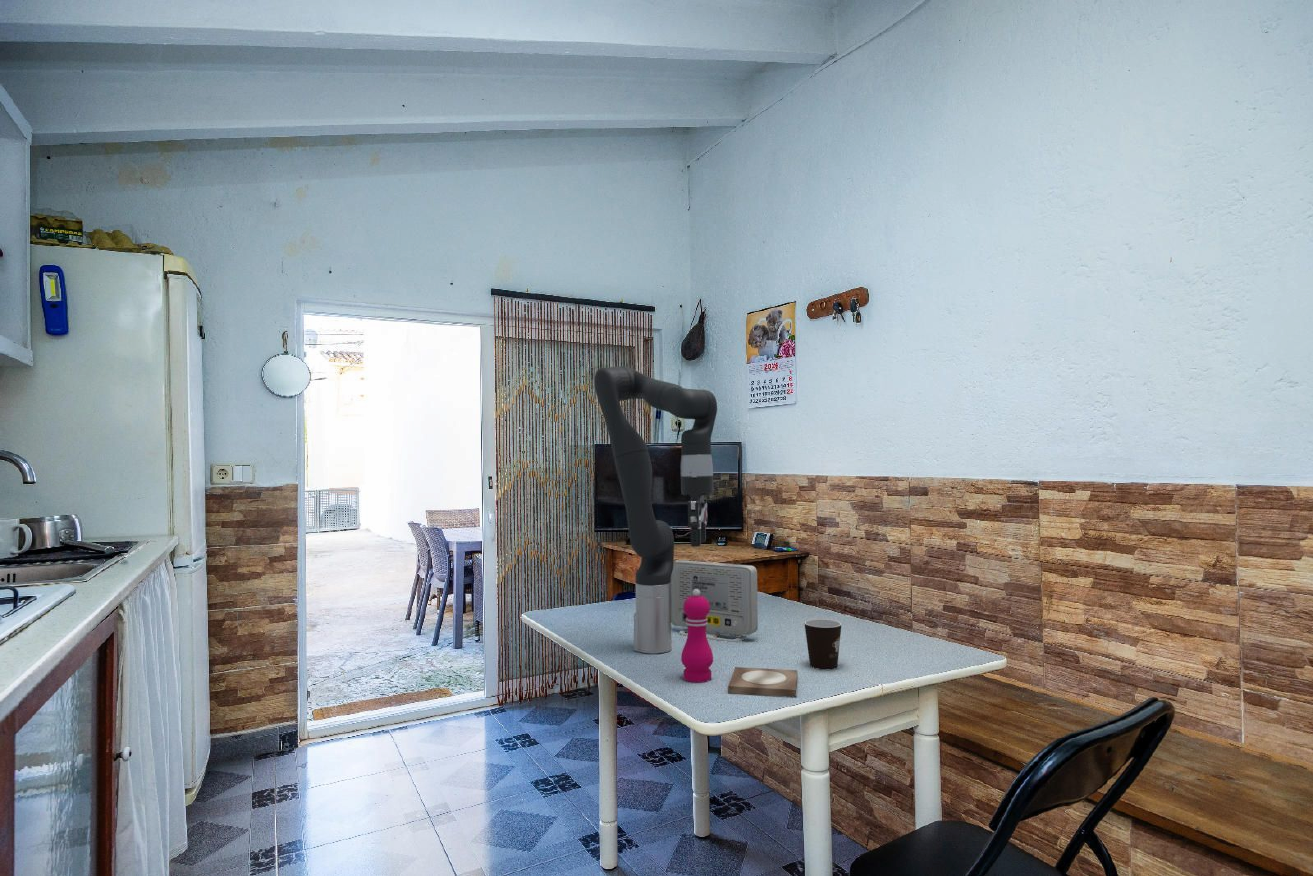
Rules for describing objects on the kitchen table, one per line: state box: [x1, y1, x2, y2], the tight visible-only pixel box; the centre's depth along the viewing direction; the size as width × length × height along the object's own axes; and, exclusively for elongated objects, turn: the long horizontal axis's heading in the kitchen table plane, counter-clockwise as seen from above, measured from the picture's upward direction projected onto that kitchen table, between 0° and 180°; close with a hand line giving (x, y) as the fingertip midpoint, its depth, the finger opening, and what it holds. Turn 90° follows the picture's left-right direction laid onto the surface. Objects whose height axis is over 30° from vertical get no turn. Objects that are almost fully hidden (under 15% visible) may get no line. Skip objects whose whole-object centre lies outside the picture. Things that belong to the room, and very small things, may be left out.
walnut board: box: [727, 666, 798, 698], centre depth 156 cm, size 14×14×2 cm
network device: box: [671, 559, 759, 643], centre depth 200 cm, size 26×9×20 cm, turn 58°
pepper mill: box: [680, 589, 714, 683], centre depth 162 cm, size 7×7×20 cm
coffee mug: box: [804, 618, 843, 670], centre depth 171 cm, size 12×9×10 cm
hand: (698, 544), depth 167 cm, fingers open, 8 cm apart
